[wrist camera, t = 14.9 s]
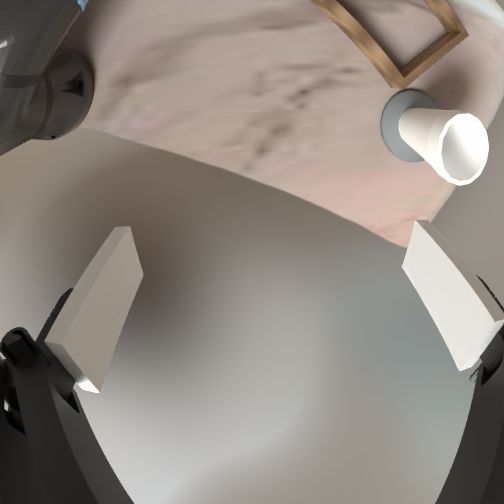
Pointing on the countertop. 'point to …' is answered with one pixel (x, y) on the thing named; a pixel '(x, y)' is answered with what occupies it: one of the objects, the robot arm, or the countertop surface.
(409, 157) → the rubber mat
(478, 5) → the countertop surface
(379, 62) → the frame
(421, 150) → the foam cup
